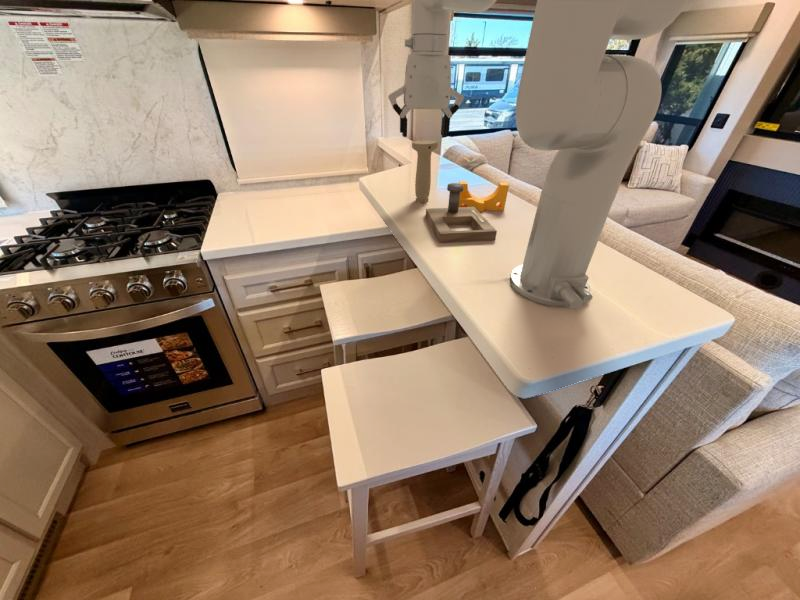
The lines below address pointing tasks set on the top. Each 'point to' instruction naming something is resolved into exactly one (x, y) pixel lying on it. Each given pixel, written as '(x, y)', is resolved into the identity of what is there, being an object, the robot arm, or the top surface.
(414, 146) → the handle
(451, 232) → the plate
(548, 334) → the top surface
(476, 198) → the pipe clamp
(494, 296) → the top surface
